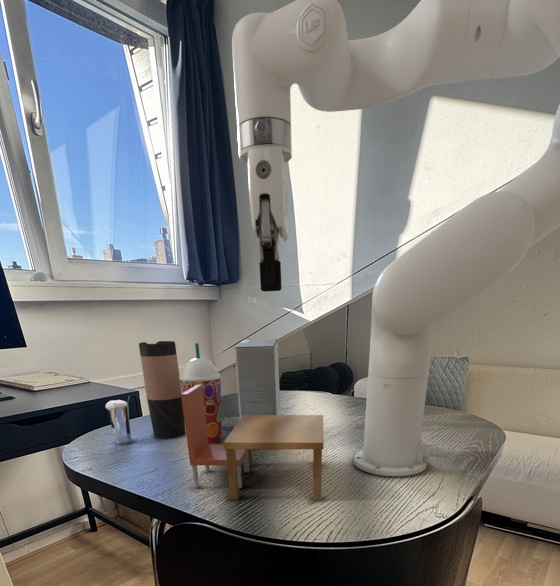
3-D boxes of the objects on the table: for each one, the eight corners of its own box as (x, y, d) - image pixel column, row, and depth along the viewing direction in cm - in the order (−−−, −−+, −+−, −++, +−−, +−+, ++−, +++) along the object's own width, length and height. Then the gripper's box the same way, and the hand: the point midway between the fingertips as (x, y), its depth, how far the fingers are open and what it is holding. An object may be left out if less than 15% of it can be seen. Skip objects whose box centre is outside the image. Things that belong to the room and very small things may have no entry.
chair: (250, 470, 72) (244, 384, 66) (242, 488, 65) (235, 393, 58) (205, 469, 73) (196, 384, 66) (192, 487, 65) (180, 394, 59)
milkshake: (134, 444, 88) (125, 398, 84) (109, 445, 88) (99, 398, 84) (141, 438, 92) (133, 393, 88) (117, 439, 92) (108, 394, 88)
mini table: (322, 464, 74) (323, 414, 71) (322, 501, 60) (323, 442, 56) (246, 463, 76) (242, 415, 72) (228, 500, 61) (223, 442, 57)
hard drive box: (248, 429, 97) (243, 339, 89) (281, 428, 97) (278, 338, 89) (240, 449, 83) (233, 345, 75) (278, 449, 83) (275, 344, 74)
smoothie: (194, 435, 94) (183, 342, 85) (230, 435, 92) (222, 341, 84) (181, 446, 86) (168, 345, 78) (220, 447, 85) (211, 344, 77)
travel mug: (178, 439, 91) (165, 343, 82) (146, 438, 92) (131, 344, 84) (191, 430, 97) (181, 340, 89) (162, 429, 99) (149, 341, 90)
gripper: (289, 122, 51) (293, 287, 58) (292, 161, 64) (295, 291, 72) (230, 126, 51) (241, 290, 59) (245, 164, 65) (253, 293, 73)
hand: (271, 290), depth 65 cm, fingers closed
